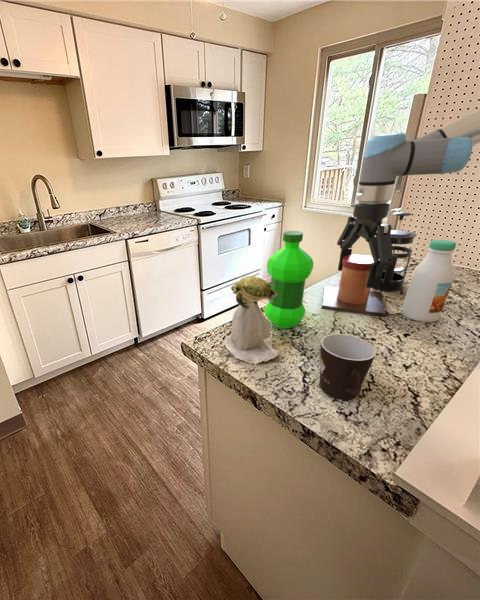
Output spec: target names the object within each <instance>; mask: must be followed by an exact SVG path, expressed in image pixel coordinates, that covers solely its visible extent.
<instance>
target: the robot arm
mask: <svg viewBox="0 0 480 600" xmlns="http://www.w3.org/2000/svg"><path fill="white" fill-rule="evenodd" d="M479 144H480V109H478V110H475V111H473V112H471V113H469V114H467V115H465V116H463V117H461V118H459V119H456V120H454V121H452V122H451V123H448V124H446V125H444V126H442V127H440V128H438V129H436V130H433V131H431V132H430V133H428V134H425V135H423V136H421V137H417V138H413V139H411V140H407V134H406V133H405V132H400V133H391V134H389V133H388V134H379V135H373V136H371V137H369V139H368V140H367V142H366V146H365V150H364V154H363V156H362V162H361V163H362V165H361V169H360V174H359V180H358V186H357V187H358V188H357V191H356V197H355V200H356V201H357V202H355V203H354V207H353V212H352V215H351V216H348V217H347V222H346V224H345V227H344V229H343V231H342V233H341V234H340V236H339V238H338V240H337V242H336V245H337V246H339V248H340V254H339V262H338V267H337V271H338V272H339V271H340V272H342V268H343V264H342V261H343V258H344V257H345V256H348V255H352V253H353V247H354V244H355V243H356V242H357V241H358V240H360V238H363V239H364V240H365V242H367V244H368V247H369V249H370V253H371V257H373V261H374V263H373V264H371V268H370V272H369V277H368V281H367V286H366V287H367V288H370V289H373V288H374V287H379V283H380V279H381V277H382V275H383V271H384V267H385V265H391V264H393V255H392V246H393V244H391V235H390V233H391V230H392V225H391V224H383V220H384V219H385V218H387V217H388V216H389V212H390V208H391V203H390V202H389V201H391V200H392V199H393V194H394V190H395V186H396V180H397V177H403V176H404V177H406V176H419V175H420V176H421V175H424V176H425V175H445V174H453V173H454V174H455V173H459V172H461V171H462V170H463V169H464V168H466V166H467V164H468V162H469V161H470V158H471V156H472V153H473V147H474V146H477V145H479Z"/></svg>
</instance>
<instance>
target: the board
mask: <svg viewBox="0 0 480 600" xmlns="http://www.w3.org/2000/svg"><path fill="white" fill-rule="evenodd" d="M338 289H339V286H337V287H336V286H328V285H324V287H323V295H322V300H321V302H322V303H321V307H320V308H321V309H323V310H330V311H337V312H346V313H352V314H361V315H368V316H374V317H375V316H376V317H381V318H386V315H387V312H386V307H385V303H384V298H383V295H382V291H378V290H377V291H376V290H370V292H369V296H368V301H367V302H366V303H363V304H351V303H346V302H343V301H341V300H339V299H338V298H337V294H338Z"/></svg>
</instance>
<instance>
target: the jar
mask: <svg viewBox="0 0 480 600" xmlns="http://www.w3.org/2000/svg"><path fill="white" fill-rule="evenodd" d="M369 272H370V269H368V270H360V269H352V268H348V267H346V266H344V265H343V268H342V271H341V274H340V278H339V279H340V280H339V284H338V288H339V289H338V294H337V298H338V299H339V300H341V301H343V302H346V303H351V304H363V303H366V302H367V301H368V296H369V292H370V291H371V288H367V287H366V286H367V281H368V277H369Z"/></svg>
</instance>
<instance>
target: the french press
mask: <svg viewBox="0 0 480 600" xmlns="http://www.w3.org/2000/svg"><path fill="white" fill-rule="evenodd" d="M392 215H394V216H397V217H398V216H399V217H398V220H399V223H398V226H397V229H391V233H390V235H391V245H392V255H393V264H391V265H385V267H384V271H383V275H382V277H381V279H380V283H379V287H374V288H372V289H374V290H377V291H380V292H382V291H383V292H399V291H401V290H403V288H404V282H405V278H406V275H407V271H408V268H409V264H410V260H411V257H412V253H413V250H412V249H411V248H409V247H406V246H402V245H409V244H413V242H414V239H415V238H416V237H418V235H417V233H416V232H413V231H409V230H400V227H401V225H402V221H403V220H404V217H408V216H409V217H410V216H412V213H411V212H405V211H398V212H393V213H392ZM400 245H401V246H400ZM395 251H399V252H404V253H395ZM406 258H407V262H406V265H402V264H399V263H397V262H398V259H406ZM400 273H403V274H400Z"/></svg>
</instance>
